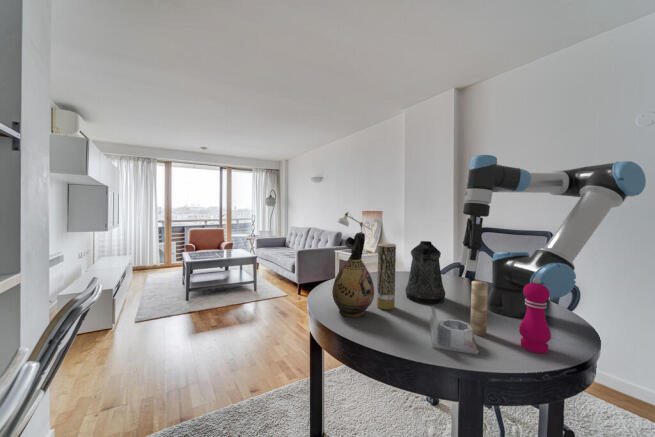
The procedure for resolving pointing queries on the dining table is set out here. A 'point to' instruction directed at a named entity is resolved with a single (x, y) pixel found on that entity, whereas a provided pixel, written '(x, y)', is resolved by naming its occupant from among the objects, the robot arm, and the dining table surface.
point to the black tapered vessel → (425, 275)
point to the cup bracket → (452, 335)
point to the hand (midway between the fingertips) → (467, 267)
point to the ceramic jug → (353, 281)
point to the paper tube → (386, 276)
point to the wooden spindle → (479, 307)
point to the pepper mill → (535, 318)
